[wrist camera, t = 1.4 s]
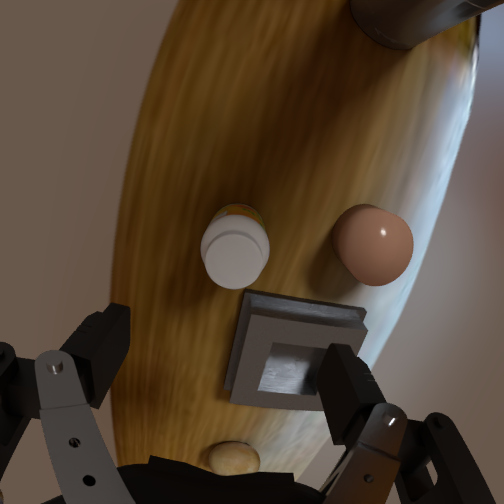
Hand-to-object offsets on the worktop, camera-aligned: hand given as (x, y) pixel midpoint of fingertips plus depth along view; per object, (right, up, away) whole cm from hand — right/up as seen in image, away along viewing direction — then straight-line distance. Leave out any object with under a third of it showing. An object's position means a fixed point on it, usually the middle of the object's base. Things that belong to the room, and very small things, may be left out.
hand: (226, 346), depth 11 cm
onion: (-2, -28, +29) cm, 41 cm away
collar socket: (+6, -8, +23) cm, 25 cm away
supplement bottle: (0, +6, +19) cm, 20 cm away
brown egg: (+13, +5, +19) cm, 23 cm away
